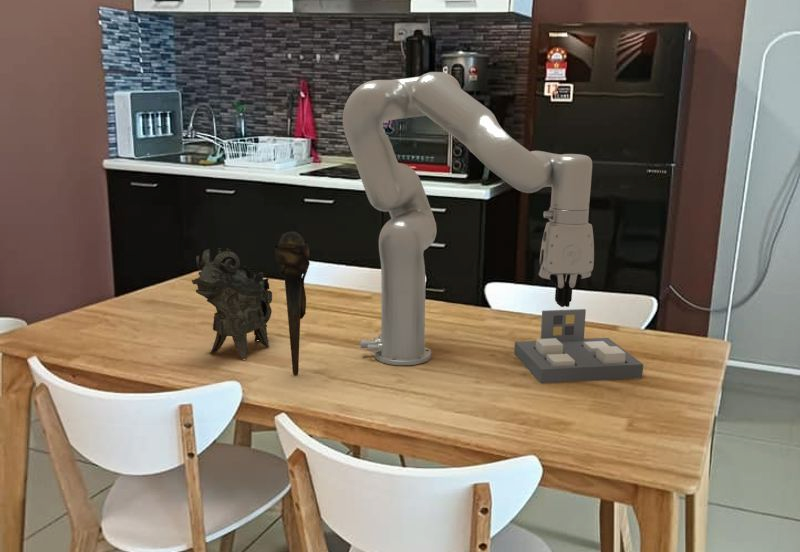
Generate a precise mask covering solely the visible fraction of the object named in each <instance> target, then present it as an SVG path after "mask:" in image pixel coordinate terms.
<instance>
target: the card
mask: <svg viewBox="0 0 800 552" xmlns="http://www.w3.org/2000/svg"><path fill="white" fill-rule="evenodd" d="M586 313H587V310H586V309H585V308H577V309H572V308H571V309H550V310H549V309H548V310H546V309H545V310H542V311H541V324H540V325H541V326H540V339H551V338H556V339H557V340H558V341H562V340H584V339H585V327H586V326H585V325H586Z"/></svg>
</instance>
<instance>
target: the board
mask: <svg viewBox="0 0 800 552" xmlns="http://www.w3.org/2000/svg"><path fill="white" fill-rule="evenodd" d="M593 341H604V342H605V343H606V344H608V345H609V346H617V347H618V348H620V349H621V350H622V351H624V352H625V353H626V355H625V363H616V364H603V363H601V362H600V361H599V360H598V359H597V358H596V353H589V352H588V351H587V350H586V349H585V348H583V345H584V342H593ZM559 342H561V343H562V344H563V354H568V355H569V356H570V357H571V358H572V359H574V360H575V366H556V367H552V366H551V365H550V364H549V363H548V362H547V361H546V357H547V355H540V354H539V353H538V352H537V351H536V340H524V341H514V348H513V349H514V353H513V354H514V356H515V357H516V358H517V360H519V362H520V363H521V364H522V365H523V366H524V367H525V368H526V369H527V370H528V371H529V372H530V373H531V375H533V376H534V377H535V379H536V380H537V381H538V382H539V383H540V384H554V383H571V382H572V383H573V382H574V383H575V382H590V381H591V382H592V381H607V380H608V381H612V380H627V379H628V380H630V379H643V375H644V374H643V373H644V364H643V363H642V362H641V361H639V360H638V359H637V358H636V357H634V355H632V354H631V353H629V352H628V351H627V350H625V349H624V348H622V347H621V346H619V344H617V343H615V341H613V340H612V339H610V338H609V337H594V338H593V337H592V338H591V337H590V338H589V337H588V338H584V340H562V341H559Z"/></svg>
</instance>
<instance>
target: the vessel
mask: <svg viewBox="0 0 800 552" xmlns="http://www.w3.org/2000/svg"><path fill="white" fill-rule="evenodd" d="M216 251H217V254H215V258H214V260H212V256H211V250H210V248H208V249H205V250H204V251H203V252H202V257H201V256H200V255H196V258H195V259H196V266H197V268H198V270H200V271H199V272H198V273H197V274H198V275H199V277H197V278H194V279H191V283H192V285H196V286H197V289H195V293H197V294H198V295H199V296H202V297H204V298H205V299H206V302H208V303H209V304H211V305H212V306H213V307H214V308H215V309H216V312H214V314H213V315H214V316H213V323H212V330H213V331H215V332H216V334H215V335H216V336H215V340H214V342H213V345H212V347H211V349H210V352H209V354H210V355H213V354H216V353H217V352H218V351H219V350H220V349H221V348H222V346H223V345H224V343H225V341H226V339H227V337H231V338H232V341H233V343H234V347H235V349H236V352H237V354H238V355H239V356H238V357H240V358H241V360H242V359H246V360H247V355H248V354H247V353H248V348H247V347H248V346H247V345H248V344H247V343H248V341H247V336H248V334H249V333H251V332H253V333H254V334H253V335H254V340H253V341H254V342H255V341H257V340H259V341H257V342H260V343H261V344H262V345H263V346H264V347H266V348H267V347H269V348H270V346H269V339H268V338H269V337H268V335H269V334H268V331H267V327H268V325H267V324H268V323H269V321H270V319H271V316H272V312H273V311H272V307H271V303H272V301H273V292H272V291H271V290H270V283H269V280H270V278H269V277H268V278H264V272H263V271H262V272H261V271H260V272H258V273H257V274H255V272H253V271H252V270H251V269H249V268H248V266H245V265H244V266H243V269H244V270H241V269H239V268H240V266H241V261H240V260H241V259H240V258H239V257H238V256H239V255H237V254H236V253H235V252H234V251H231V249H229V248H226V250H225V251H222V247H219V248H217V249H216ZM231 262H233V263H234V266H233V265H232V264H231ZM212 353H213V354H212Z"/></svg>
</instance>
